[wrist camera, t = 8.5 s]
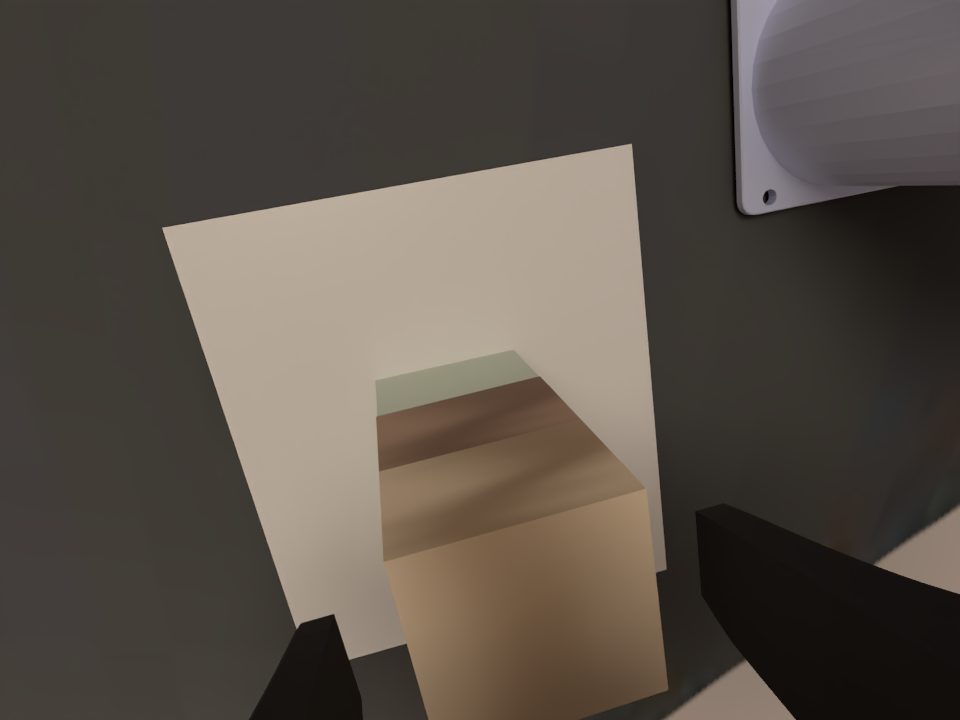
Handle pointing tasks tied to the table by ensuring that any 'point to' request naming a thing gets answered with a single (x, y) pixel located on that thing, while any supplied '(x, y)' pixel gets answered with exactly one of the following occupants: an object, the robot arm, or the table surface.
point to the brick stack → (517, 558)
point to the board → (413, 345)
